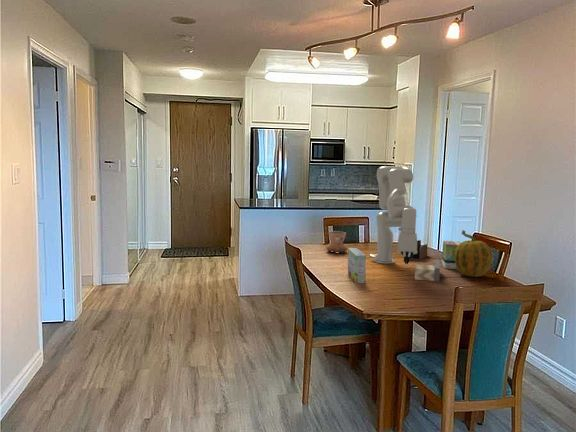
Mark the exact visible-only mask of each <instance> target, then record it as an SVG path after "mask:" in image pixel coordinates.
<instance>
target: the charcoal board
mask: <svg viewBox="0 0 576 432" xmlns="http://www.w3.org/2000/svg"><path fill="white" fill-rule="evenodd" d="M434 266H435V275H434V281H433V282H438V283H439V282H440V274H441V273H440V272H441V267H440V260H437V259H436V260H434Z"/></svg>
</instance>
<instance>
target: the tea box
mask: <svg viewBox="0 0 576 432" xmlns="http://www.w3.org/2000/svg"><path fill="white" fill-rule="evenodd" d="M460 243H461V242H460V241H455V240H454V241H453V240H443V241H442V254H441V255H442V256H441V264H442V265H443V268H444V269H447V270H448V269H449V270H457V268H456V264H455V251H456V248H457V246H458V245H459V244H460Z"/></svg>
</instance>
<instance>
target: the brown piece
mask: <svg viewBox="0 0 576 432" xmlns="http://www.w3.org/2000/svg"><path fill="white" fill-rule="evenodd" d="M346 236H347V232H344V231H340V230H332V231H331V230H330V231H328V237H329V240H330V243H328V244H327V245H326V250H327V251H328V252H329V251H333V252H343V253H345V252H348V246H347V245H346V244H345V243H344V241H345V239H346ZM344 251H345V252H344Z"/></svg>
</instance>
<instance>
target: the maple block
mask: <svg viewBox="0 0 576 432" xmlns="http://www.w3.org/2000/svg"><path fill="white" fill-rule="evenodd" d="M434 275H435V265H430V264H418V263H416V264H415V268H414V280H415V281H416V280H417V281H431V282H435V281H434Z"/></svg>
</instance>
